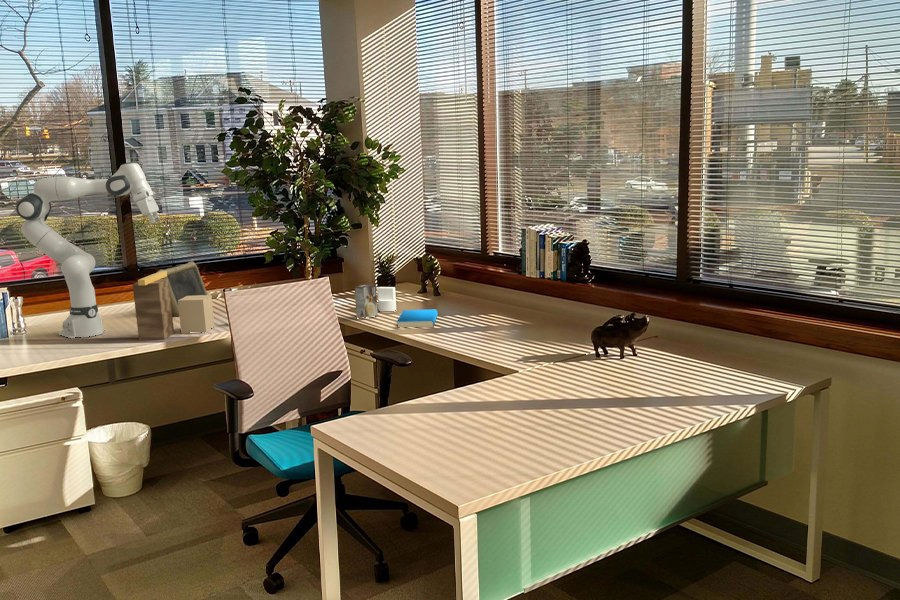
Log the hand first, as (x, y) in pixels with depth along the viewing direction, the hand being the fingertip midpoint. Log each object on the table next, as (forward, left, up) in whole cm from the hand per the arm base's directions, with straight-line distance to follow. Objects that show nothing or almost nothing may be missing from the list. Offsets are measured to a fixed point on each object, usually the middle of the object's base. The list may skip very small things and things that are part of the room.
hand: (156, 222), depth 399 cm
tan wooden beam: (+7, -10, -26) cm, 29 cm away
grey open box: (-30, +36, -52) cm, 70 cm away
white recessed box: (+75, +77, -52) cm, 120 cm away
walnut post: (+9, -13, -52) cm, 54 cm away
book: (+106, +60, -53) cm, 133 cm away
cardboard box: (+17, +4, -52) cm, 55 cm away
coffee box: (+76, +59, -52) cm, 110 cm away
